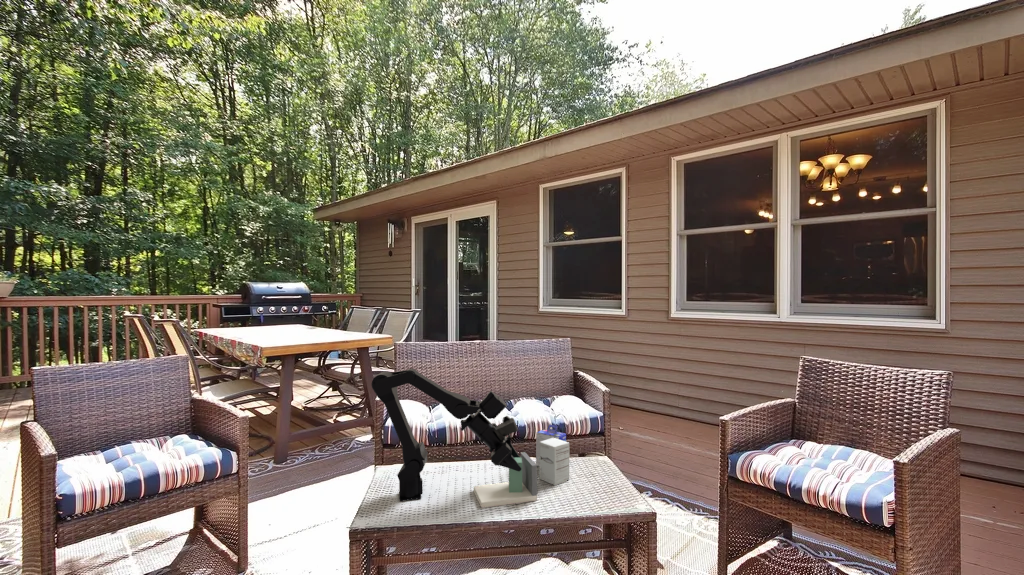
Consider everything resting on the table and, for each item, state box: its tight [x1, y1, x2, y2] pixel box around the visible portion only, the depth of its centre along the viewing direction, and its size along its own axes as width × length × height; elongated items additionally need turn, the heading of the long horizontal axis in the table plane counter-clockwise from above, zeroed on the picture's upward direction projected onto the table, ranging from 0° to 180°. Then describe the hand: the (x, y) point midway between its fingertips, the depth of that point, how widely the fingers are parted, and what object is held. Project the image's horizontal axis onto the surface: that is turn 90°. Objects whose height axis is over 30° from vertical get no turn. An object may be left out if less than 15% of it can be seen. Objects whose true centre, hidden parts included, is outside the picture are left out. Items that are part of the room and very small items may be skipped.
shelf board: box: [473, 451, 538, 509], centre depth 144 cm, size 17×12×10 cm
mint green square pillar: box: [508, 456, 522, 493], centre depth 145 cm, size 4×4×9 cm
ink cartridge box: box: [535, 424, 567, 467], centre depth 167 cm, size 10×6×14 cm, turn 53°
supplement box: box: [539, 438, 570, 486], centre depth 156 cm, size 7×7×13 cm
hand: (519, 464), depth 145 cm, fingers open, 9 cm apart
